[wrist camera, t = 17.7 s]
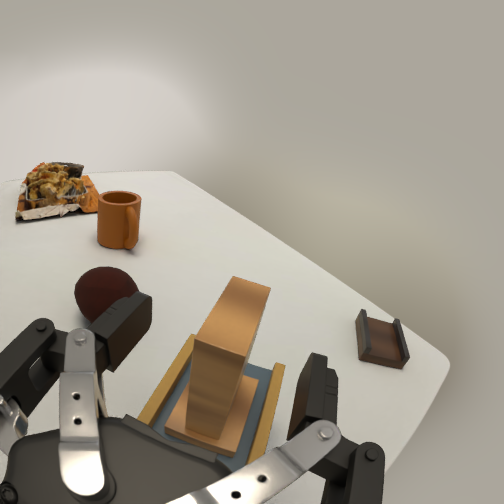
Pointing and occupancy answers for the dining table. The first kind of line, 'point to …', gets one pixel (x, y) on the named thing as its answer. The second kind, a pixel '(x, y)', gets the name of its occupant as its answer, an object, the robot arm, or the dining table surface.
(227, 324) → the wooden pedestal block
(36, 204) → the food tray
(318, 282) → the dining table surface
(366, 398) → the dining table surface
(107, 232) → the mug
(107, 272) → the dark maroon ball
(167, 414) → the blue railed block
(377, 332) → the brown u-shaped block
